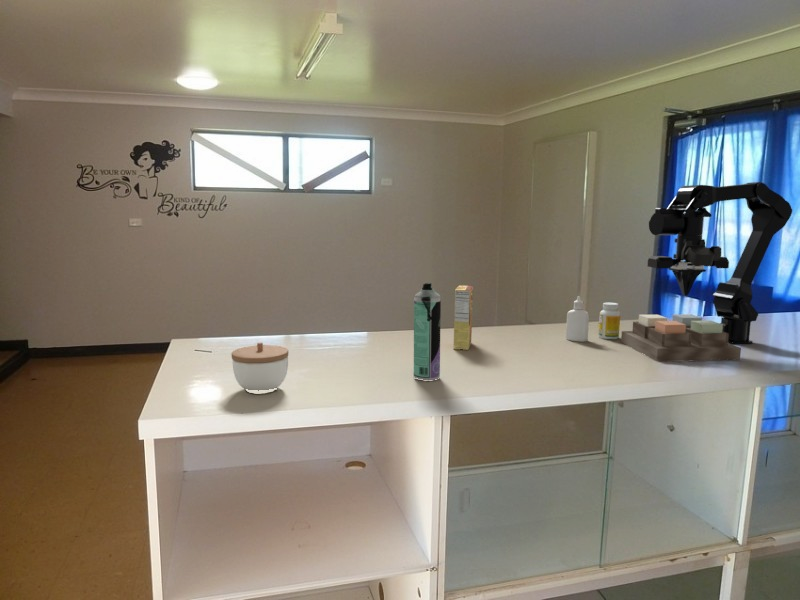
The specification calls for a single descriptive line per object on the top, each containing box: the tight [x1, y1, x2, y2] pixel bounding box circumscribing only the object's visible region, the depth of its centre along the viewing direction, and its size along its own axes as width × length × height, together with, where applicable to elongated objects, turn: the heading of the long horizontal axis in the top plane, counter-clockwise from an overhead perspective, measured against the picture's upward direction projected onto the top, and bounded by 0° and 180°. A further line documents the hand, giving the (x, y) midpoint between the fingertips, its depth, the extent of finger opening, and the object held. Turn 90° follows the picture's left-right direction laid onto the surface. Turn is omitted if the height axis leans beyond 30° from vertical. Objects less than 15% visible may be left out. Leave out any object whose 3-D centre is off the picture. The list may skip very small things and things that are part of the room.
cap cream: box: [638, 314, 668, 326], centre depth 151 cm, size 5×5×3 cm
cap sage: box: [691, 320, 723, 333], centre depth 143 cm, size 5×5×3 cm
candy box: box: [453, 285, 474, 351], centre depth 151 cm, size 9×4×15 cm, turn 169°
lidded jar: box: [231, 341, 289, 391], centre depth 114 cm, size 11×11×9 cm
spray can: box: [413, 282, 442, 380], centre depth 122 cm, size 6×6×20 cm
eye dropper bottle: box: [565, 295, 590, 343], centre depth 159 cm, size 4×6×12 cm
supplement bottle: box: [598, 301, 621, 340], centre depth 162 cm, size 5×5×10 cm
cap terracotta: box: [655, 320, 686, 334], centre depth 142 cm, size 5×5×3 cm
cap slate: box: [671, 313, 703, 326], centre depth 151 cm, size 5×5×3 cm
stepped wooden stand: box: [620, 320, 742, 362], centre depth 147 cm, size 20×20×6 cm
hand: (685, 295), depth 153 cm, fingers closed
